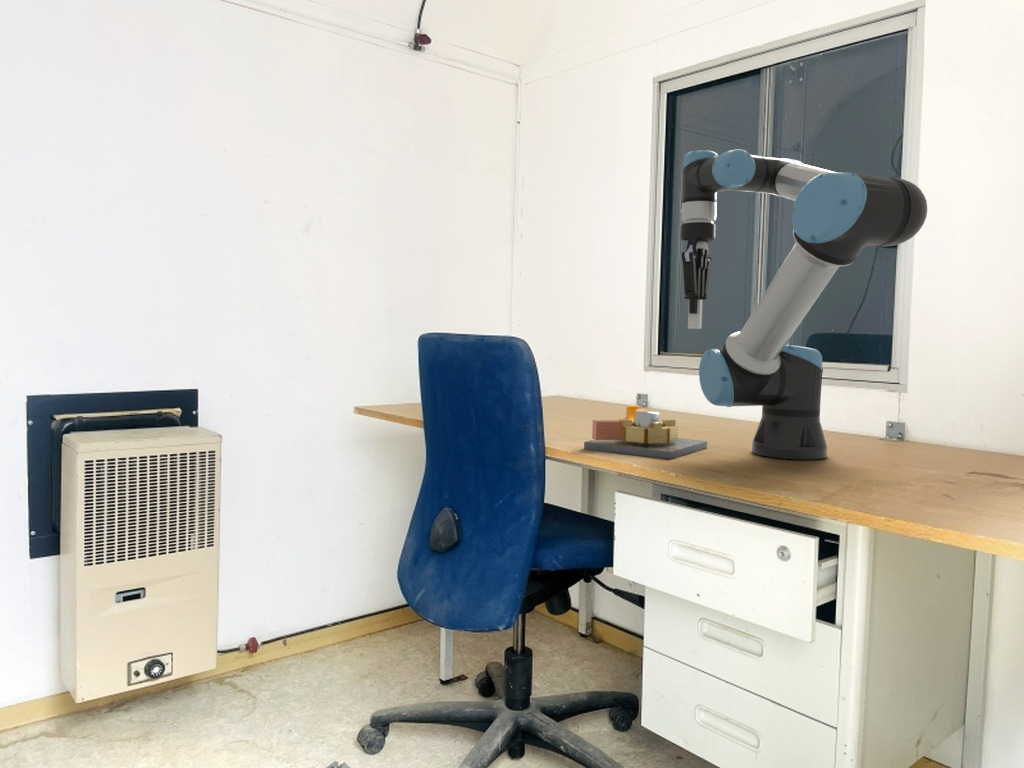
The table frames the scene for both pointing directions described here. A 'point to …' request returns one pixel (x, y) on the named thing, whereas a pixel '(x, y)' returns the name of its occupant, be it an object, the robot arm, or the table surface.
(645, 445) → the flange plate
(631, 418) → the pipe clamp
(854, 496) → the table surface
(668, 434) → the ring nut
